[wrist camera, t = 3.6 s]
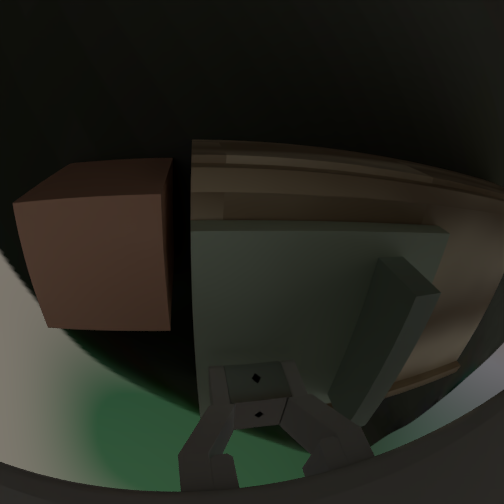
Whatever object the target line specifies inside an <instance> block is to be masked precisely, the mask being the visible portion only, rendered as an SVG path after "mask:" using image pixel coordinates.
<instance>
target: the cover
mask: <svg viewBox="0 0 504 504" xmlns="http://www.w3.org/2000/svg"><path fill="white" fill-rule="evenodd" d="M449 235H450V233H448V232H447V231H445V230H444V229H442V228H441V227H440V226H436V225H417V224H395V223H370V222H338V221H288V220H191V278H192V306H193V327H194V344H195V360H196V373H197V386H198V397H199V408H200V417H201V418H202V416H203V415H204V413H205V411H206V410H207V408H208V406H210V397H209V375H208V367H209V366H224V365H245V364H253V363H262V362H271V361H283V360H291V359H293V360H294V361H295V363H296V365H297V368H298V370H299V373H300V375H301V378H302V381H303V383H304V386H305V388H306V391H307V393H308V394H313V395H314V396H316V397H317V398H318V399H320V400H321V401H323V402H324V403H326V404H327V403H331V404H332V406H333V408H334V410H336V411H337V412H338V413H340V414H341V415H343V416H344V417H346V418H347V419H349V420H350V421H352V422H353V423H355V424H356V425H358V426H359V427H361V426H364V425H366V423H367V422H368V420H369V419H370V418H371V416H372V415H373V413H374V412H375V410H376V409H377V408H378V406H379V405H380V403H381V402H382V400H383V399H384V397H385V396H386V394H387V393H388V391H389V389H390V388H391V386H392V385H393V383H394V382H395V380H396V378H397V377H398V375H399V373H400V372H401V370H402V368H403V367H404V365H405V363H406V361H407V360H408V358H409V356H410V354H411V353H412V351H413V349H414V347H415V345H416V343H417V342H418V340H419V338H420V336H421V334H422V332H423V330H424V328H425V326H426V324H427V322H428V320H429V318H430V316H431V314H432V312H433V310H434V308H435V305H436V303H437V301H438V299H439V297H440V294H441V292H440V291H439V290H438V289H437V288H436V287H435V286H434V285H433V284H432V282H433V280H434V277H435V275H436V272H437V269H438V267H439V264H440V261H441V259H442V256H443V253H444V250H445V247H446V244H447V241H448V238H449Z"/></svg>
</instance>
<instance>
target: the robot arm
mask: <svg viewBox="0 0 504 504" xmlns="http://www.w3.org/2000/svg"><path fill="white" fill-rule="evenodd" d="M208 375H209V397H210V406H208V408H207V410H206V411H205V413H204V415H203V416H202V418H201V419H200V421H199V423H198V424H197V426H196V428H195V429H194V431H193V432H192V434H191V436H190V437H189V439H188V440H187V442H186V443H185V445H184V447H183V448H182V450H181V451H180V453H179V455H178V460H179V473H180V485H181V492H160V491H139V490H127V489H115V488H107V487H100V486H93V485H87V484H81V483H75V482H71V481H66V480H61V479H57V478H53V477H48V476H45V475H41V474H37V473H33V472H30V471H26V470H23V469H20V468H17V467H14V466H11V465H8V464H5V463H2V462H0V504H504V390H503V391H501V392H500V393H498V394H497V395H495V396H494V397H492V398H491V399H489V400H488V401H486V402H485V403H483V404H481V405H480V406H478V407H477V408H475V409H473V410H472V411H470V412H468V413H467V414H465V415H463V416H462V417H460V418H458V419H456V420H454V421H452V422H451V423H449V424H447V425H445V426H443V427H441V428H439V429H437V430H435V431H433V432H431V433H429V434H427V435H425V436H423V437H421V438H419V439H416V440H414V441H412V442H410V443H407V444H405V445H403V446H400V447H398V448H396V449H393V450H391V451H388V452H385V453H383V454H380V455H377V456H374V454H373V452H372V450H371V448H370V446H369V444H368V441H367V439H366V437H365V435H364V433H363V431H362V429H361V427H359V426H358V425H356V424H355V423H353V422H352V421H350V420H349V419H347V418H346V417H344V416H343V415H341V414H340V413H338V412H337V411H336V410H334V409H333V408H331V407H330V406H328V405H327V404H326V403H324V402H323V401H321V400H320V399H318V398H317V397H316V396H314V395H313V394H308V393H307V391H306V388H305V386H304V383H303V381H302V378H301V375H300V373H299V370H298V368H297V365H296V363H295V361H294V360H293V359H291V360H283V361H271V362H262V363H253V364H245V365H224V366H209V367H208ZM277 424H280V426H281V427H282V428H283V429H284V430H285V431H286V432H287V433H288V434H289V435H290V436H291V437H293V438H294V439H295V440H296V441H297V442H298V443H299V444H300V445H301V446H302V447H303V448H305V449H306V450H307V451H308V452H309V453H310V454H311V456H310V458H309V459H308V460H307V462H306V464H305V465H304V466H303V472H304V474H305V477H303V478H298V479H294V480H289V481H283V482H278V483H272V484H266V485H260V486H252V487H245V488H239V484H238V480H237V476H236V470H235V465H234V460H233V457H232V456H231V455H229V454H223V451H224V449H225V447H226V445H227V443H228V441H229V439H230V437H231V435H232V433H233V430H236V429H244V428H252V427H260V426H269V425H277Z"/></svg>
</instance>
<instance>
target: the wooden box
mask: <svg viewBox="0 0 504 504" xmlns="http://www.w3.org/2000/svg"><path fill="white" fill-rule="evenodd" d="M191 220H288V221H338V222H370V223H395V224H417V225H436V226H440V227H441V228H442V229H444V230H445V231H447V232H448V233H450V235H449V238H448V241H447V244H446V247H445V250H444V253H443V256H442V259H441V261H440V264H439V267H438V269H437V272H436V275H435V277H434V280H433V282H432V284H433V285H434V286H435V287H436V288H437V289H438V290H439V291H440V292H441V294H440V297H439V299H438V301H437V303H436V305H435V308H434V310H433V312H432V314H431V316H430V318H429V320H428V322H427V324H426V326H425V328H424V330H423V332H422V334H421V336H420V338H419V340H418V342H417V343H416V345H415V347H414V349H413V351H412V353H411V354H410V356H409V358H408V360H407V361H406V363H405V365H404V367H403V368H402V370H401V372H400V373H399V375H398V377H397V378H396V380H395V382H394V383H393V385H392V386H391V388H390V389H389V391H388V393H387V394H386V396H385V397H384V398H386V397H389V396H393V395H396V394H399V393H402V392H405V391H408V390H410V389H413V388H416V387H419V386H422V385H424V384H427V383H430V382H432V381H435V380H437V379H440V378H442V377H445V376H447V375H449V374H452V373H454V372H456V371H457V370H458V368H459V367H460V364H459V363H458V362H457V359H458V357H459V356H460V354H461V353H462V351H463V350H464V348H465V346H466V345H467V343H468V341H469V340H470V338H471V336H472V335H473V333H474V331H475V329H476V328H477V326H478V324H479V322H480V320H481V319H482V317H483V315H484V313H485V311H486V309H487V307H488V305H489V303H490V301H491V299H492V297H493V295H494V293H495V291H496V289H497V287H498V284H499V282H500V280H501V278H502V276H503V273H504V188H503V187H501V186H499V185H497V184H495V183H493V182H490V181H487V180H483V179H480V178H476V177H473V176H469V175H465V174H461V173H458V172H454V171H450V170H446V169H442V168H437V167H433V166H429V165H424V164H420V163H415V162H410V161H405V160H400V159H395V158H389V157H384V156H378V155H372V154H366V153H359V152H353V151H346V150H339V149H331V148H323V147H314V146H305V145H294V144H283V143H270V142H254V141H234V140H192V157H191V217H190V223H191ZM191 283H192V278H191ZM192 310H193V306H192ZM193 330H194V327H193ZM194 347H195V344H194ZM195 362H196V360H195ZM196 375H197V373H196ZM197 387H198V386H197ZM198 398H199V397H198ZM327 405H328V406H330V407H331V408H333V406H332V404H331V403H327ZM333 409H334V408H333ZM200 418H201V417H200Z"/></svg>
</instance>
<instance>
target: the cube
mask: <svg viewBox="0 0 504 504" xmlns="http://www.w3.org/2000/svg"><path fill="white" fill-rule="evenodd" d="M13 208H14V214H15V219H16V224H17V228H18V233H19V237H20V241H21V245H22V249H23V253H24V257H25V261H26V264H27V268H28V271H29V275H30V278H31V281H32V284H33V287H34V290H35V293H36V296H37V299H38V302H39V305H40V308H41V310H42V313H43V316H44V318H45V321H46V323H47V326H48V327H49V328H63V329H83V330H112V331H171V307H172V287H173V271H174V257H175V255H174V228H173V158H143V159H121V160H105V161H92V162H80V163H71V164H69V165H67V166H66V167H64V168H63V169H61V170H59V171H58V172H56V173H55V174H53V175H52V176H50V177H49V178H47V179H46V180H44V181H43V182H41V183H40V184H38V185H37V186H35V187H34V188H33V189H31V190H30V191H28V192H27V193H26V194H24V195H23V196H21V197H20V198H19V199H17V200H16V201H15V202H13Z"/></svg>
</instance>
